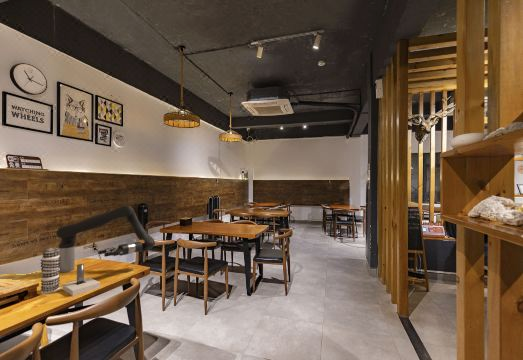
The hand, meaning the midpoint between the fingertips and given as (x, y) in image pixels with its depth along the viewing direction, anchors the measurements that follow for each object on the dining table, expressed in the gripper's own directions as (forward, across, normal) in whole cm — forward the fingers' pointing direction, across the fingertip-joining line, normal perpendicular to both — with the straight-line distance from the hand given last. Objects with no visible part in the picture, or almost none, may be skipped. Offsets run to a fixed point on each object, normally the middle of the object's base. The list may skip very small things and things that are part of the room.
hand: (101, 253), depth 160 cm
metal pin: (+12, 0, +18) cm, 21 cm away
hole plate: (+12, +2, +18) cm, 22 cm away
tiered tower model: (+23, -9, +19) cm, 31 cm away
